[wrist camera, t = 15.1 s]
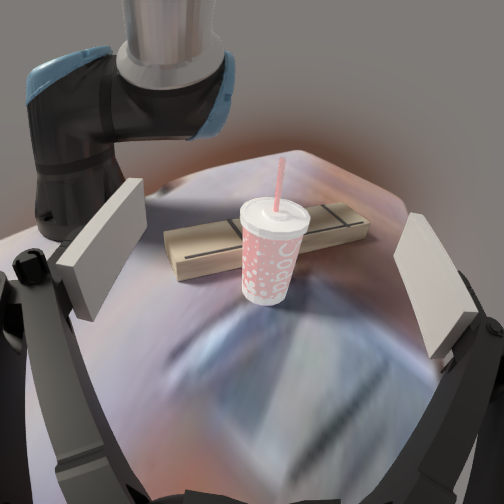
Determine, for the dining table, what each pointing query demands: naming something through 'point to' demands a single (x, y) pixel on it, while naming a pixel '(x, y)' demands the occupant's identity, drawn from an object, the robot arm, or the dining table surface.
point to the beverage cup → (270, 244)
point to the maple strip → (231, 240)
